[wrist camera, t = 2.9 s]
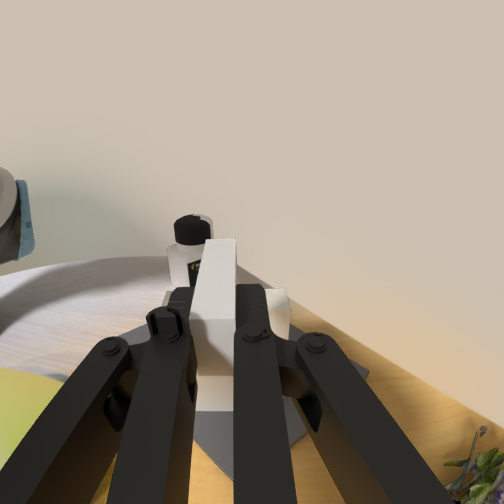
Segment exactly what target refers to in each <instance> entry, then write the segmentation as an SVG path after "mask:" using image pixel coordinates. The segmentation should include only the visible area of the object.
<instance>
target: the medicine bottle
mask: <svg viewBox="0 0 504 504" xmlns="http://www.w3.org/2000/svg"><path fill="white" fill-rule="evenodd" d="M174 231H175V240H176V244H174V245H171V246H168V247H167V253H168V261H169V268H170V275H171V281H172V284H173V285H174V286H175V287H195V286H196V282H197V277H198V273H199V268H200V264H201V259H202V255H203V251H204V246H205V242H206V239H214V237H213V221H212V220H211V218H209V217H207V216H204V215H199V214H193V215H187V216H183V217H182V218H180V219H178V220H176V222H175V223H174Z"/></svg>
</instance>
